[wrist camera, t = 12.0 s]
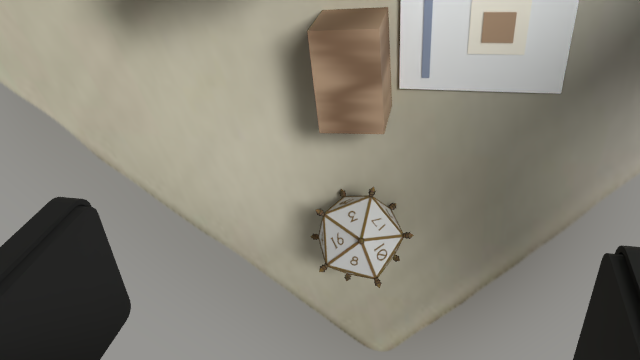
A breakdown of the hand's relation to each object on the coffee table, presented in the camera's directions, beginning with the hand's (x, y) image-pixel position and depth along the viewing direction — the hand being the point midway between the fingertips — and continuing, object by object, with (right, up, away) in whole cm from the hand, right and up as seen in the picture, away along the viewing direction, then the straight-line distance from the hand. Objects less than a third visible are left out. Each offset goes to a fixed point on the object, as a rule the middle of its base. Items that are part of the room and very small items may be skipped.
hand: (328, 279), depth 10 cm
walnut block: (+2, +13, +29) cm, 32 cm away
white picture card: (+12, +13, +29) cm, 34 cm away
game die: (+4, +1, +35) cm, 36 cm away
